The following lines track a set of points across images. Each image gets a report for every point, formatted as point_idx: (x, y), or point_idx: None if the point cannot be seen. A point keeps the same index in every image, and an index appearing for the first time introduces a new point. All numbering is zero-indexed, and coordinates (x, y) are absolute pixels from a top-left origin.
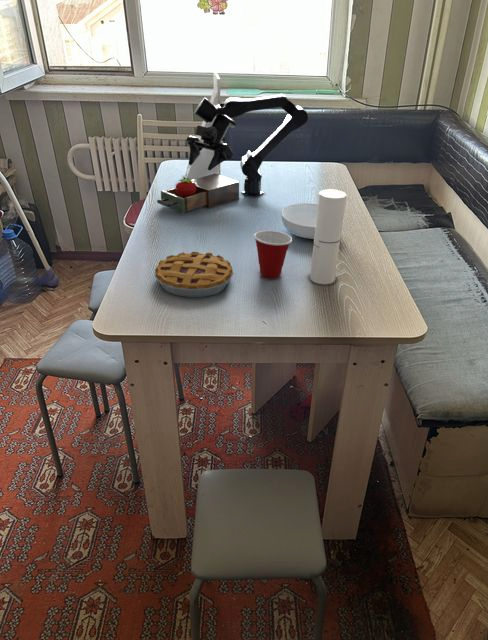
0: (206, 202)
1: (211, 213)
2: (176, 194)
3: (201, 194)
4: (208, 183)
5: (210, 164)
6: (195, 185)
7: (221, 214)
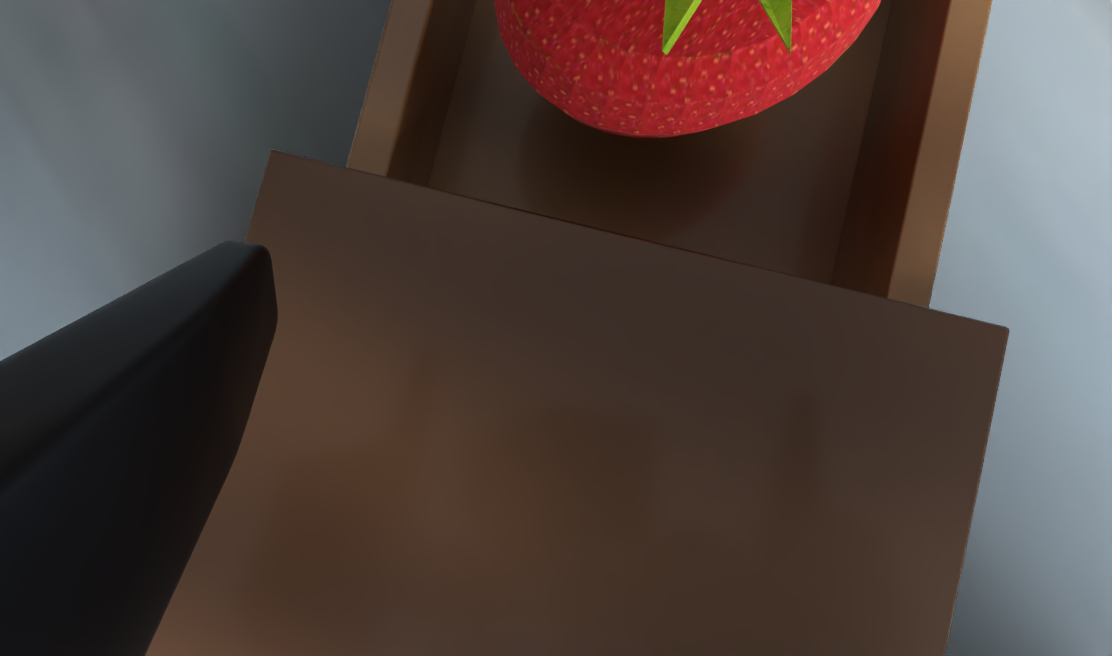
0: None
1: (211, 82)
2: (900, 59)
3: (379, 59)
4: (515, 539)
5: (129, 317)
6: (515, 9)
7: (69, 130)
